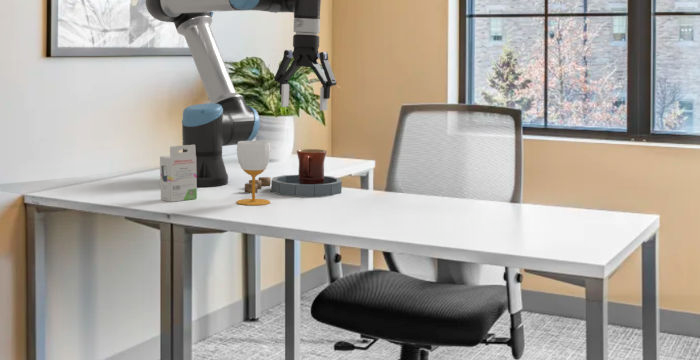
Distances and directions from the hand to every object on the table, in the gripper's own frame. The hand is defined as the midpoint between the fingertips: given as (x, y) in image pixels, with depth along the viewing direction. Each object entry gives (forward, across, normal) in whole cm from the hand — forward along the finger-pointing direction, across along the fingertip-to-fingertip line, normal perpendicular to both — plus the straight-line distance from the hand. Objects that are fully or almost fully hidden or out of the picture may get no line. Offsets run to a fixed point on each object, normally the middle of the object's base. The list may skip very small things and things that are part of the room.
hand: (303, 108), depth 256 cm
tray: (+23, +4, -3) cm, 24 cm away
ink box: (+24, -14, -37) cm, 46 cm away
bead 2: (+24, -10, -9) cm, 27 cm away
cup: (+24, +4, -28) cm, 37 cm away
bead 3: (+24, -11, -3) cm, 26 cm away
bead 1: (+24, -7, -15) cm, 29 cm away
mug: (+22, +5, -3) cm, 23 cm away
